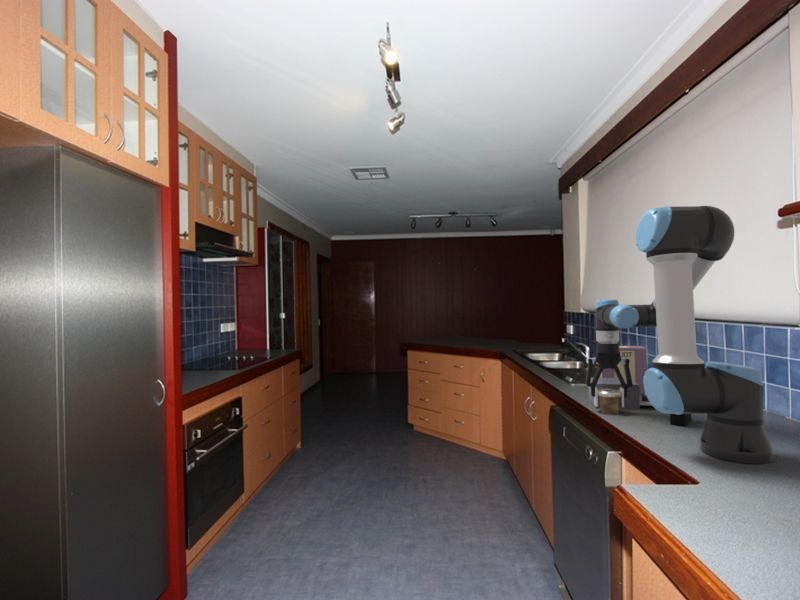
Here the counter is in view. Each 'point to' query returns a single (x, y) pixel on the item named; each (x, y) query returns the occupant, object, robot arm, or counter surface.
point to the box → (631, 365)
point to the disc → (609, 393)
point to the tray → (644, 399)
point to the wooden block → (609, 405)
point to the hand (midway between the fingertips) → (609, 406)
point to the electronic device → (680, 419)
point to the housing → (614, 383)
